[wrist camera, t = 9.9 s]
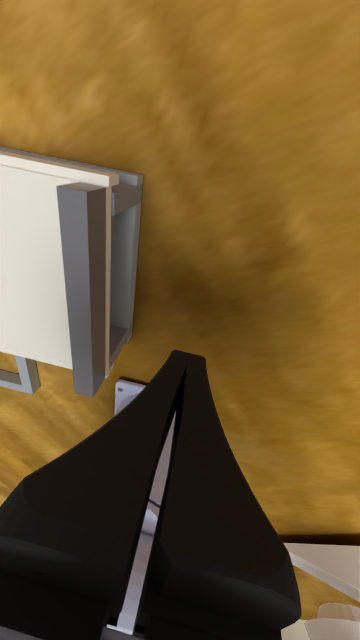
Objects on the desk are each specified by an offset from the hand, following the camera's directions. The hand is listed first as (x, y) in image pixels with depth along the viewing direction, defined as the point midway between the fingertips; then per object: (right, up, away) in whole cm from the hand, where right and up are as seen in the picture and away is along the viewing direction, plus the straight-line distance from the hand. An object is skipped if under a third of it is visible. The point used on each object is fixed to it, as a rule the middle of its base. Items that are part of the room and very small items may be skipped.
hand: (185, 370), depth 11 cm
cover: (-9, +5, +5) cm, 11 cm away
